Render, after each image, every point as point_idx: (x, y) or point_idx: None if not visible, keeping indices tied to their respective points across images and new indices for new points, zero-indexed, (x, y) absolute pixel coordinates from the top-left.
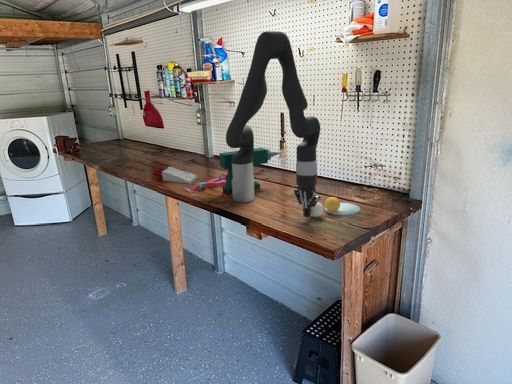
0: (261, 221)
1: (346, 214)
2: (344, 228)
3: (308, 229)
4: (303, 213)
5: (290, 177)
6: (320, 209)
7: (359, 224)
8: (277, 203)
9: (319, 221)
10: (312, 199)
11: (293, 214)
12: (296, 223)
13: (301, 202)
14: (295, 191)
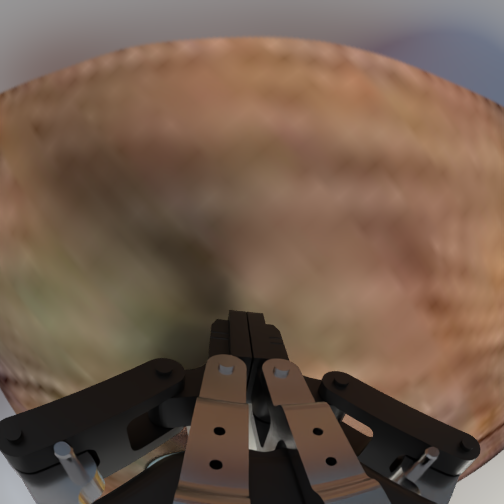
0: (444, 97)
1: (152, 461)
2: (23, 341)
3: (106, 190)
4: (265, 324)
5: (483, 456)
6: (187, 428)
7: (40, 404)
8: (489, 347)
9: (162, 348)
10: (53, 435)
11: (380, 321)
12: (255, 212)
13: (323, 395)
14: (461, 452)
